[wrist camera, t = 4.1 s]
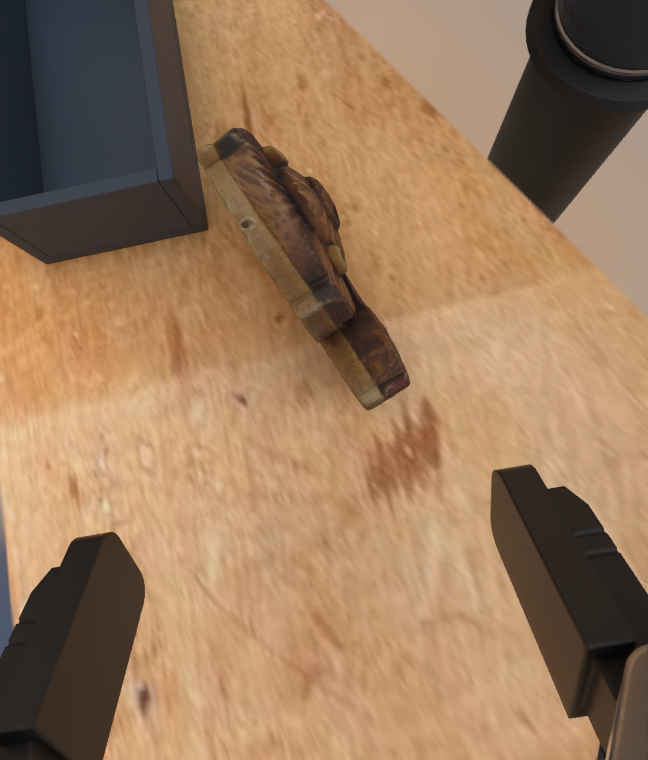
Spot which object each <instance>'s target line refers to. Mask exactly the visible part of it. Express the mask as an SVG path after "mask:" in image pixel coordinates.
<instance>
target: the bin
mask: <svg viewBox="0 0 648 760" xmlns="http://www.w3.org/2000/svg"><path fill="white" fill-rule="evenodd" d="M204 230H208V224H207V218H206V212H205V205H204V199H203V192H202V186H201V180H200V173H199V167H198V161H197V154H196V148H195V141H194V135H193V129H192V122H191V116H190V109H189V103H188V97H187V90H186V84H185V78H184V71H183V65H182V58H181V52H180V46H179V39H178V33H177V27H176V20H175V14H174V7H173V1H172V0H0V236H1V237H3V238H4V239H6V240H8V241H9V242H11V243H13V244H14V245H16V246H18V247H19V248H21V249H22V250H24V251H26V252H27V253H29V254H31V255H32V256H34V257H36V258H37V259H39V260H40V261H42V262H44V263H45V264H49V263H54V262H59V261H63V260H68V259H73V258H77V257H82V256H87V255H91V254H96V253H101V252H105V251H110V250H115V249H119V248H124V247H129V246H134V245H138V244H143V243H148V242H152V241H157V240H162V239H166V238H171V237H176V236H180V235H185V234H190V233H194V232H199V231H204Z"/></svg>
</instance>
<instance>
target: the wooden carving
mask: <svg viewBox="0 0 648 760" xmlns="http://www.w3.org/2000/svg"><path fill="white" fill-rule="evenodd" d="M197 158H198V160H199V161H200V163H201V165H202V166H203V168H204V170H205V171H206V173H207V175H208V176H209V178H210V180H211V182H212V184H213V186H214V187H215V189H216V191H217V192H218V194H219V196H220V197H221V199H222V201H223V202H224V204H225V206H226V208H227V209H228V211H229V213H230V214H231V216H232V218H233V219H234V221H235V222H236V224H237V226H238V227H239V229H240V231H241V232H242V234H243V235H244V237H245V238H246V240H247V241H248V243H249V244H250V246H251V247H252V249H253V250H254V252H255V253H256V255H257V256H258V258H259V259H260V261H261V262H262V264H263V265H264V267H265V268H266V270H267V271H268V273H269V274H270V276H271V277H272V279H273V280H274V282H275V283H276V285H277V286H278V287H279V289H280V290H281V292H282V293H283V295H284V296H285V297H286V299H287V300H288V301H289V303H290V305H291V306H292V308H293V309H294V311H295V312H296V314H297V315H298V317H299V318H300V320H301V321H302V323H303V325H304V326H305V328H306V329H307V330H308V332H309V333H310V334H311V335H312V337H313V338H314V339H315V340H316V341H317V342H318V343H319V342H320V343H321V345H322V346H323V348H324V350H325V351H326V353H327V354H328V356H329V358H330V359H331V361H332V362H333V364H334V365H335V367H336V368H337V370H338V372H339V373H340V375H341V376H342V378H343V379H344V381H345V382H346V383H347V385H348V386H349V388H350V389H351V391H352V392H353V394H354V395H355V396H356V398H357V399H358V401H359V402H360V403H361V404H362V406H363V407H364V408H365V409H366V410H371V409H373V408H375V407H376V406H378V405H379V404H381V403H383V402H384V401H386V400H387V399H389V398H391V397H393V396H394V395H396V394H397V393H399V392H400V391H402V390H403V389H405V388H406V387H408V386H409V384H410V381H409V376H408V374H407V371H406V369H405V367H404V364H403V362H402V360H401V357H400V355H399V353H398V351H397V349H396V347H395V345H394V343H393V341H392V340H391V338H390V336H389V334H388V332H387V330H386V328H385V327H384V326H383V325H382V324H381V323H380V321H379V320H378V318H377V317H376V315H375V314H374V313H373V312H372V310H371V309H370V308H369V307H368V306H366V305H365V304H364V302H363V301H362V299H361V298H360V296H359V295H358V293H357V292H356V290H355V288H354V287H353V285H352V283H351V282H350V280H349V279H348V277H347V275H346V274H345V273H346V270H347V264H346V260H345V255H344V250H343V247H342V243H341V238H340V235H339V233H338V229H339V226H340V221H339V217H338V214H337V210H336V207H335V205H334V203H333V201H332V199H331V198H330V196H329V194H328V193H327V192H326V190H325V189H324V187H323V186H322V185H321V184H320V183H319V181H318V180H316V179H314V178H312V177H304V176H302V175H301V174H299V173H298V172H296V171H294V170H293V169H291V168H290V167H288V160H287V159H286V158H285V157H284V156H283V154H282V153H281V152H279V151H278V150H276V149H275V148H273V147H272V146H266V147H262V146H261V145H260V144H259V143H258V141H257V140H256V139H255V138H254V136H253V135H252V134H250V133H249V132H248V131H247V130H245V129H243V128H238V129H237V128H232V129H231V130H229V131H228V132H227V133H225V134H224V135H223V136H222V137H221V138H220V139H219V140H218V141H217V142H216V143H214V144H209V145H206V146H205V147H204V148H202V149H201V150H200V151H198V152H197Z"/></svg>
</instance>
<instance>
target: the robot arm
mask: <svg viewBox="0 0 648 760" xmlns="http://www.w3.org/2000/svg"><path fill="white" fill-rule="evenodd" d="M551 22H552V28H553V32H554V35H555V38H556V40H557V42H558V44H559V46H560V47H561V49H562V50H563V52H564V53H565V54H566V55H567V56H568V58H569V59H570V60H571V61H573V62H574V63H575V64H576V65H578V66H579V67H580V68H582V69H583V70H585V71H587V72H589V73H591V74H593V75H595V76H598V77H601V78H604V79H608V80H613V81H620V82H638V81H645V80H648V0H554V1H553V5H552V12H551ZM490 517H491V528H492V533H493V537H494V540H495V543H496V546H497V549H498V551H499V554H500V556H501V559H502V561H503V563H504V566H505V568H506V570H507V573H508V575H509V578H510V580H511V582H512V585H513V587H514V589H515V592H516V594H517V597H518V599H519V601H520V604H521V606H522V608H523V611H524V613H525V616H526V618H527V620H528V623H529V625H530V627H531V630H532V632H533V635H534V637H535V639H536V642H537V644H538V646H539V649H540V651H541V654H542V656H543V658H544V661H545V663H546V665H547V668H548V670H549V673H550V675H551V677H552V680H553V682H554V684H555V687H556V689H557V691H558V694H559V696H560V699H561V701H562V703H563V706H564V708H565V710H566V713H567V715H568V718H576V717H583V716H588V717H589V719H590V722H591V724H592V726H593V728H594V730H595V733H596V735H597V737H598V739H599V742H598V746H597V751H596V756H595V760H648V594H647V593H646V591H645V590H644V588H643V586H642V585H641V583H640V582H639V580H638V579H637V577H636V576H635V574H634V573H633V571H632V570H631V568H630V567H629V565H628V564H627V562H626V561H625V559H624V558H623V556H622V555H621V553H618V551H617V547H616V546H615V544H614V543H613V541H612V540H611V538H610V537H609V535H608V534H607V533H605V532H604V528H603V526H602V525H601V523H600V522H599V520H598V519H597V517H596V516H595V514H594V513H593V511H592V510H591V508H590V507H589V505H588V504H587V503H586V502H584V501H583V500H582V499H580V498H579V497H578V496H576V495H575V494H574V493H573V492H571V491H570V490H569V489H567V488H566V487H565V486H563V487H557V488H550V489H547V487H546V486H545V484H544V482H543V480H542V479H541V477H540V475H539V474H538V472H537V470H536V469H535V468H534V467H533V466H532V465H523V466H517V467H511V468H505V469H499V470H494V471H493V472H492V484H491V516H490ZM144 598H145V584H144V579H143V576H142V573H141V571H140V570H139V568H138V567H137V565H136V564H135V562H134V560H133V559H132V557H131V556H130V554H129V552H128V551H127V549H126V548H125V546H124V544H123V543H122V541H121V540H120V538H119V537H118V535H117V534H116V533H114V532H109V533H103V534H97V535H91V536H85V537H79V538H76V539H74V540H73V541H72V542H71V544H70V546H69V547H68V550H67V552H66V554H65V556H64V559H63V561H62V563H61V566H60V567H55V568H51V570H50V571H49V572H48V573H47V574H46V576H45V577H44V578H43V579H42V580H41V582H40V583H39V584H38V585H37V586H36V587H35V589H34V590H33V591H32V592H31V594H30V596H29V598H28V601H27V603H26V605H25V607H24V609H23V611H22V613H21V615H20V617H19V624H16V626H15V628H14V630H13V632H12V635H11V636H10V639H9V645H8V646H7V647H5V649H4V651H3V654H2V655H1V658H0V760H103V757H104V753H105V749H106V745H107V742H108V738H109V734H110V730H111V726H112V723H113V719H114V715H115V711H116V707H117V703H118V700H119V696H120V692H121V688H122V684H123V680H124V677H125V673H126V669H127V665H128V661H129V658H130V654H131V650H132V646H133V642H134V638H135V635H136V631H137V627H138V623H139V619H140V615H141V612H142V608H143V604H144Z"/></svg>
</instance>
